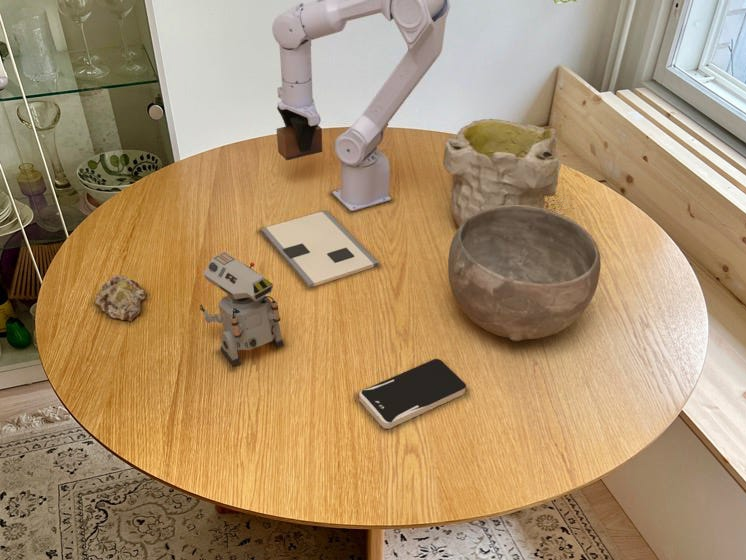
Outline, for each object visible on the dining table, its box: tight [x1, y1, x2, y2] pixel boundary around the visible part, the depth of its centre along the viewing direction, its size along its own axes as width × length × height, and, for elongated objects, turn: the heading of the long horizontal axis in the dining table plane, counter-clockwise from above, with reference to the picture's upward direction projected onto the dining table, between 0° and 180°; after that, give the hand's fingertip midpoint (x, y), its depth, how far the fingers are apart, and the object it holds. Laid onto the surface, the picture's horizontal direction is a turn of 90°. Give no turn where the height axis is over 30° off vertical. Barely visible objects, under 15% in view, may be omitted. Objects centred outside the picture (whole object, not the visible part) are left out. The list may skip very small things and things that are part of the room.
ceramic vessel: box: [442, 118, 562, 228], centre depth 141 cm, size 23×24×25 cm
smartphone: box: [358, 358, 467, 430], centre depth 112 cm, size 8×1×15 cm
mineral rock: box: [94, 274, 147, 322], centre depth 125 cm, size 11×4×8 cm
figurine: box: [199, 251, 284, 368], centre depth 115 cm, size 9×12×15 cm
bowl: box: [447, 205, 602, 342], centre depth 122 cm, size 24×24×15 cm
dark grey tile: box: [283, 243, 310, 258], centre depth 137 cm, size 4×3×1 cm
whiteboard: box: [260, 209, 379, 289], centre depth 139 cm, size 14×20×1 cm
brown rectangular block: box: [276, 125, 323, 161], centre depth 150 cm, size 8×4×5 cm, turn 120°
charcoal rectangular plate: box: [327, 248, 354, 263], centre depth 137 cm, size 4×3×1 cm
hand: (300, 145), depth 151 cm, fingers closed on brown rectangular block, 4 cm apart
